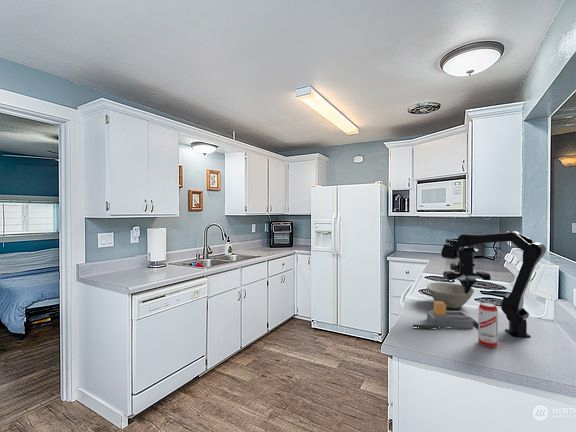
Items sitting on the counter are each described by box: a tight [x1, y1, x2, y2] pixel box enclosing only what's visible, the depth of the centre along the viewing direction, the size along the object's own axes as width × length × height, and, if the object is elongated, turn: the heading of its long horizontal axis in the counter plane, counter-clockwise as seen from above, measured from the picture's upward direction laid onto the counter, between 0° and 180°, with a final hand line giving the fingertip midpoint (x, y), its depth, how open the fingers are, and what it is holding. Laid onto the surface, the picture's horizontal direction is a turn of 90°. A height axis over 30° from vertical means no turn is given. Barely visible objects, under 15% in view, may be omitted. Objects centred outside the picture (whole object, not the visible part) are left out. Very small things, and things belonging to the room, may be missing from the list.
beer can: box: [477, 301, 499, 348], centre depth 116 cm, size 6×6×16 cm
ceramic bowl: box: [426, 282, 475, 309], centre depth 159 cm, size 22×23×10 cm
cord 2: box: [469, 316, 479, 328], centre depth 136 cm, size 11×2×2 cm, turn 173°
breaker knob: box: [433, 301, 447, 315], centre depth 137 cm, size 4×4×6 cm
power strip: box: [426, 310, 474, 330], centre depth 137 cm, size 10×16×5 cm, turn 83°
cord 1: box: [412, 324, 440, 330], centre depth 132 cm, size 2×11×2 cm, turn 83°
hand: (466, 293), depth 140 cm, fingers closed
